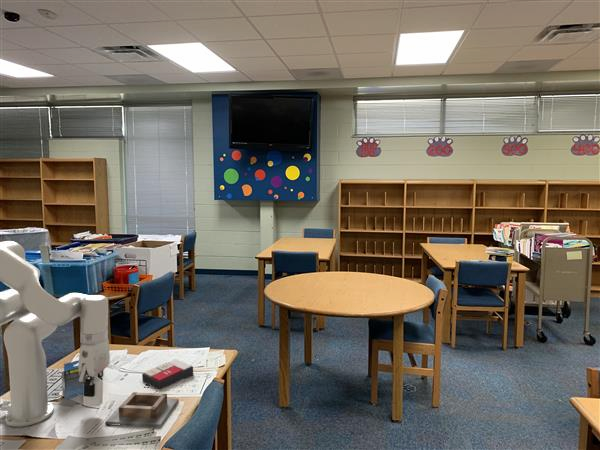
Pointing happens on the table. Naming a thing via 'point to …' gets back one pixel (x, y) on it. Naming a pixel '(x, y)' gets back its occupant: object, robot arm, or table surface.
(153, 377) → the red and grey box
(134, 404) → the stand
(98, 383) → the eye dropper bottle
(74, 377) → the label tape cartridge
